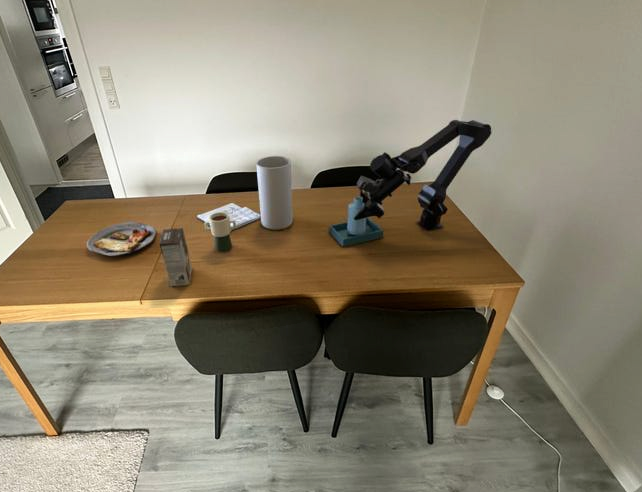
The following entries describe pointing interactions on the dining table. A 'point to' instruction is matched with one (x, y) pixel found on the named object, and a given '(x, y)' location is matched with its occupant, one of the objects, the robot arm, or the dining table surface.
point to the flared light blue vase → (353, 209)
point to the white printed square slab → (234, 214)
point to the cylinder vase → (275, 192)
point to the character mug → (221, 230)
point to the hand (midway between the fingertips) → (353, 214)
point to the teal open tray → (348, 239)
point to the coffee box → (176, 256)
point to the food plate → (121, 238)
